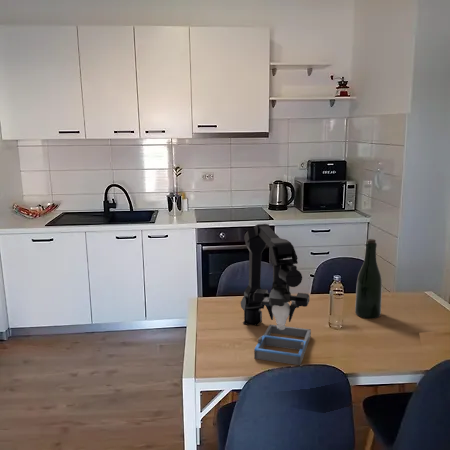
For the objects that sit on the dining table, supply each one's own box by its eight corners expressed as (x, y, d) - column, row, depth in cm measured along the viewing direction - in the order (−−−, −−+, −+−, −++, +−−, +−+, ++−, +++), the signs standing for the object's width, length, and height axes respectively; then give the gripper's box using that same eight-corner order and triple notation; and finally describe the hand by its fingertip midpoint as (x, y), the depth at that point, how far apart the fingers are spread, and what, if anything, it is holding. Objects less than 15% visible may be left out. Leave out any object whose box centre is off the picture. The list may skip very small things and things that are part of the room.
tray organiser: (254, 358, 158) (254, 345, 157) (269, 331, 179) (269, 319, 178) (300, 365, 153) (300, 351, 152) (310, 336, 174) (310, 324, 173)
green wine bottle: (374, 309, 200) (377, 236, 194) (385, 318, 190) (389, 241, 184) (351, 310, 199) (354, 237, 193) (361, 320, 189) (364, 242, 183)
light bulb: (289, 334, 155) (290, 304, 153) (270, 333, 157) (270, 303, 155) (291, 326, 162) (291, 297, 160) (272, 325, 163) (272, 296, 161)
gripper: (248, 282, 151) (248, 326, 154) (304, 288, 145) (303, 333, 148) (257, 272, 161) (257, 314, 164) (310, 277, 155) (309, 320, 158)
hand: (280, 320), depth 159 cm, fingers closed on light bulb, 6 cm apart
